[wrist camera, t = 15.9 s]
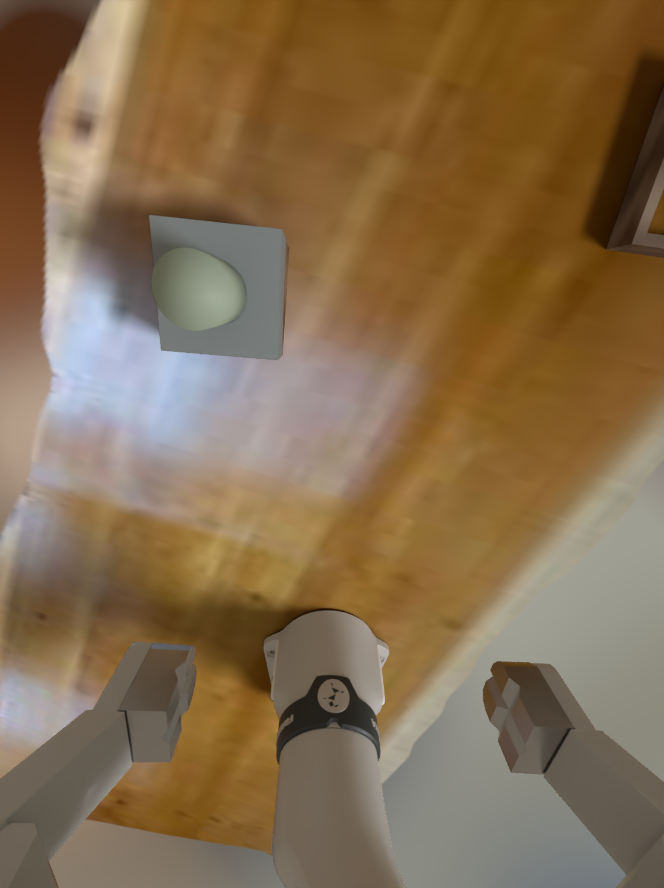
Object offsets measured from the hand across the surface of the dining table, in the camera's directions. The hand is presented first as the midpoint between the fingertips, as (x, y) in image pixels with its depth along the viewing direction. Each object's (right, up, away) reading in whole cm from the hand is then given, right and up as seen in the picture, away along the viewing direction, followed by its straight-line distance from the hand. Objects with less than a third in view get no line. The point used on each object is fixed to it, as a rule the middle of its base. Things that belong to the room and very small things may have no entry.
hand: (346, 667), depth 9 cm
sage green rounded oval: (-10, +18, +19) cm, 28 cm away
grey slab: (-10, +20, +22) cm, 31 cm away
